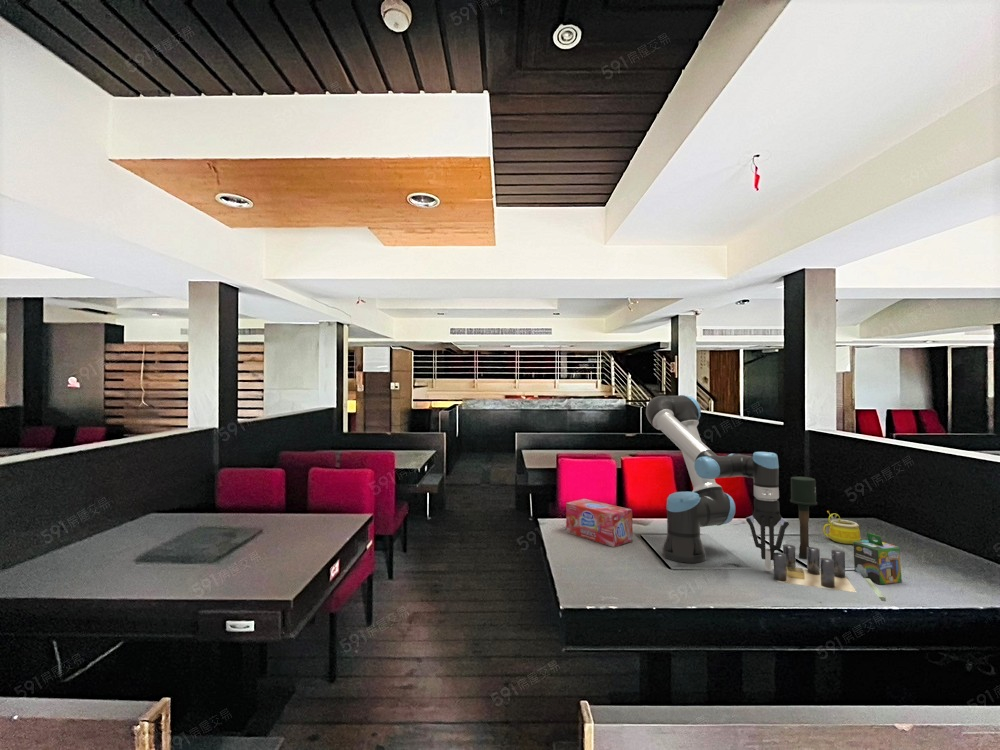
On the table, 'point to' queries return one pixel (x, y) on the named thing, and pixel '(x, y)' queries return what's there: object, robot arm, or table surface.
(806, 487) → the potato masher grenade
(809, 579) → the board
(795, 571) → the tan wooden tile
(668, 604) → the table surface
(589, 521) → the box
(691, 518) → the robot arm
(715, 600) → the table surface
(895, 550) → the chalk box
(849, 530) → the mug
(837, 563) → the spacers
